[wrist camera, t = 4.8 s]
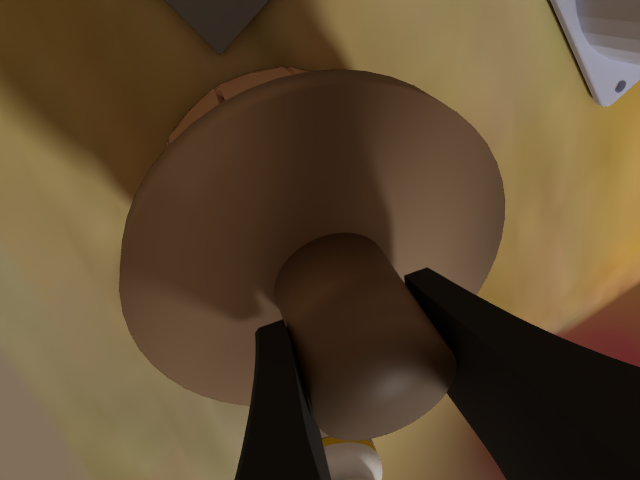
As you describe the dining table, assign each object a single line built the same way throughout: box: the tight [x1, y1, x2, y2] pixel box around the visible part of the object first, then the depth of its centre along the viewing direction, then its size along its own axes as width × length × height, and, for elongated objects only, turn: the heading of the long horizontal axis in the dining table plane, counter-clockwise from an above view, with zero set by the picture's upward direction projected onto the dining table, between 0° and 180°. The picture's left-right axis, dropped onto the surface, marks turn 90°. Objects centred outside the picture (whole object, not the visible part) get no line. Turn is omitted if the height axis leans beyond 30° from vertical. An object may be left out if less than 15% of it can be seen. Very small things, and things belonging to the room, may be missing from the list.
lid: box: [119, 69, 505, 441], centre depth 11 cm, size 10×10×4 cm
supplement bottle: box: [319, 428, 382, 480], centre depth 20 cm, size 5×5×8 cm
